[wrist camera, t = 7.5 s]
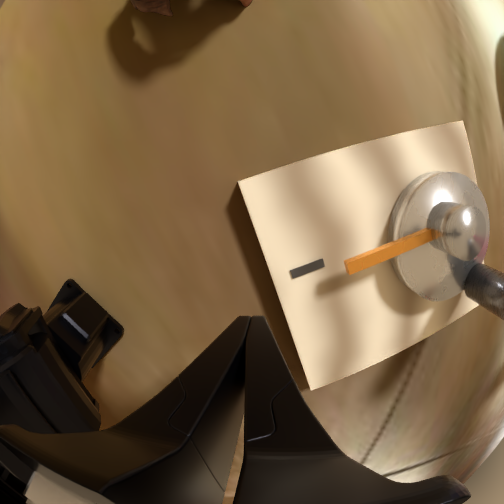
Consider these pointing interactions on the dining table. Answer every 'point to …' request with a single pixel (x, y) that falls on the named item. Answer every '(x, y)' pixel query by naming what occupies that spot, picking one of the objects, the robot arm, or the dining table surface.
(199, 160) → the dining table surface
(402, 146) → the stand
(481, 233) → the shiny grey rounded pieces
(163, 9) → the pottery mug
